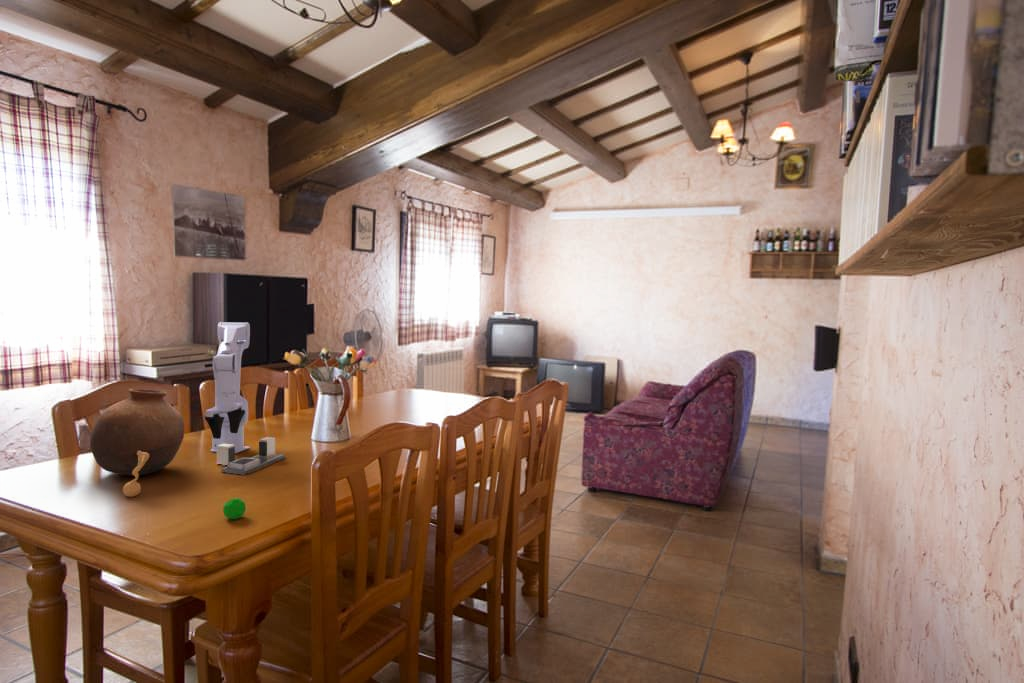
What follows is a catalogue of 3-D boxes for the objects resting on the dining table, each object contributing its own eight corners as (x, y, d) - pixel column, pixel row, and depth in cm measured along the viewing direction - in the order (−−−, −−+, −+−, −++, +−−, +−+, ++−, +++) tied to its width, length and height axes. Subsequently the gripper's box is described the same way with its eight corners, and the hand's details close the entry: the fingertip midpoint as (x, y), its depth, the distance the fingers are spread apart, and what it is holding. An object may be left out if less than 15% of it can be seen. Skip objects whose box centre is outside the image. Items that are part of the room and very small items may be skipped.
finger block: (223, 462, 190) (223, 443, 189) (235, 463, 189) (235, 444, 188) (216, 464, 187) (216, 445, 187) (229, 466, 186) (228, 447, 186)
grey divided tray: (221, 472, 179) (221, 449, 179) (264, 455, 198) (264, 434, 198) (244, 475, 177) (244, 452, 177) (285, 457, 197) (285, 436, 196)
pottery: (73, 483, 165) (70, 394, 163) (129, 460, 188) (127, 381, 186) (154, 487, 165) (152, 397, 163) (200, 463, 188) (199, 384, 186)
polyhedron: (235, 523, 141) (235, 503, 141) (218, 520, 143) (218, 501, 142) (250, 516, 146) (250, 496, 146) (233, 513, 147) (233, 494, 147)
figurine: (124, 492, 160) (123, 448, 159) (150, 489, 162) (150, 446, 161) (121, 502, 152) (120, 456, 151) (149, 499, 155) (148, 453, 154)
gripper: (219, 397, 178) (219, 442, 179) (251, 390, 192) (252, 431, 193) (199, 395, 180) (200, 439, 181) (233, 388, 194) (233, 429, 195)
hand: (225, 435), depth 187 cm, fingers open, 7 cm apart
